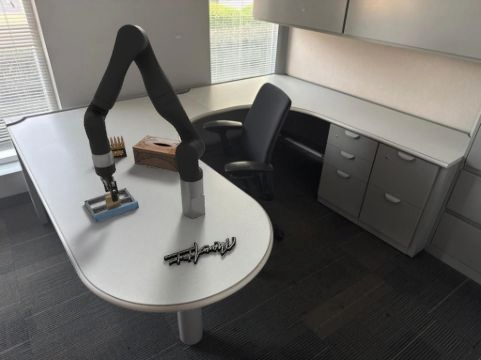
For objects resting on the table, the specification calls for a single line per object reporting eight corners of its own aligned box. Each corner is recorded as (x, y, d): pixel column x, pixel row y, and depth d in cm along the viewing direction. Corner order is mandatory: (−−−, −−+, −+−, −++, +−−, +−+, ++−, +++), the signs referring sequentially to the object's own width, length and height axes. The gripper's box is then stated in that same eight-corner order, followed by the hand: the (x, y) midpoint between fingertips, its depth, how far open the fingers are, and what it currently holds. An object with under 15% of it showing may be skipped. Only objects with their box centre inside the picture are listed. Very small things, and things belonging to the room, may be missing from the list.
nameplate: (230, 230, 132) (242, 246, 124) (230, 233, 132) (242, 249, 125) (161, 252, 121) (169, 271, 113) (161, 255, 122) (170, 274, 114)
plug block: (121, 209, 142) (118, 194, 138) (109, 213, 140) (106, 198, 135) (119, 206, 144) (116, 190, 140) (107, 210, 142) (104, 194, 137)
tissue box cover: (192, 159, 180) (191, 142, 175) (180, 172, 169) (179, 155, 163) (149, 151, 186) (147, 135, 181) (135, 164, 174) (132, 146, 169)
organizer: (138, 207, 144) (138, 201, 142) (95, 222, 135) (94, 216, 133) (126, 190, 154) (125, 185, 152) (85, 203, 145) (83, 198, 143)
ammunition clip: (126, 154, 182) (123, 134, 176) (127, 156, 181) (123, 136, 174) (105, 157, 179) (101, 137, 172) (105, 159, 177) (101, 138, 171)
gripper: (120, 166, 126) (127, 201, 135) (107, 151, 136) (114, 185, 144) (99, 172, 122) (108, 208, 131) (88, 156, 132) (96, 191, 141)
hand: (111, 196), depth 138 cm, fingers open, 8 cm apart
